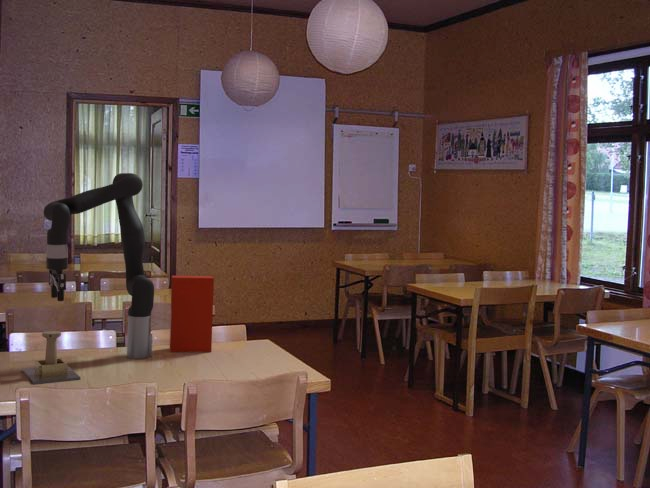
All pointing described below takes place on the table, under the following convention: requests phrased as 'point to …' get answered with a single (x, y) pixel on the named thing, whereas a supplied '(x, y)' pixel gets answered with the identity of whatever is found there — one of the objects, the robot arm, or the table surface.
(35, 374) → the square socket base
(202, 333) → the red rectangular box
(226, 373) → the table surface
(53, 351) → the handle
